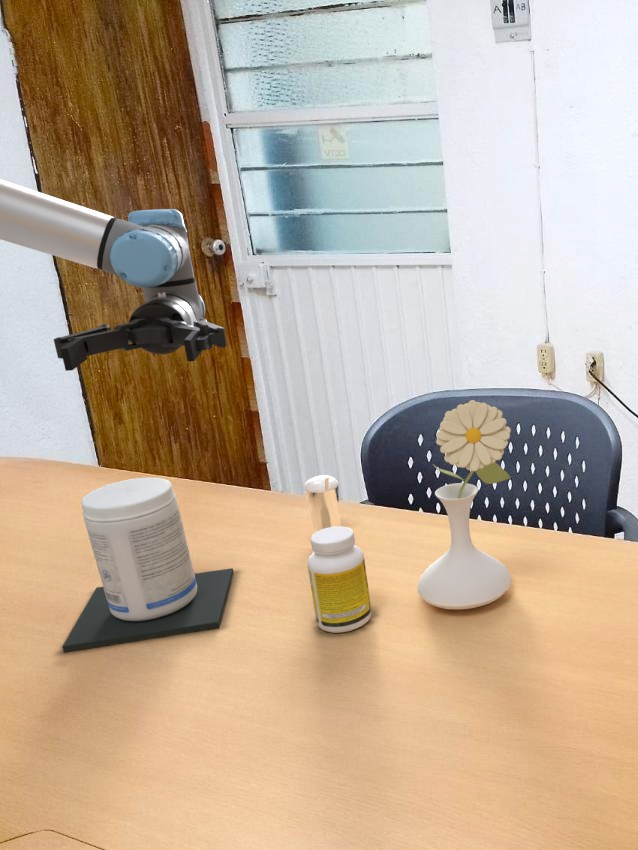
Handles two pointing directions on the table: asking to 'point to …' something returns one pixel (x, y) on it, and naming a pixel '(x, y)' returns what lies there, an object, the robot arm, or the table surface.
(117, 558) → the supplement tub
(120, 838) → the table surface
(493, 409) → the flower in vase
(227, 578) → the mat
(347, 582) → the pill bottle
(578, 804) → the table surface
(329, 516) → the milkshake
